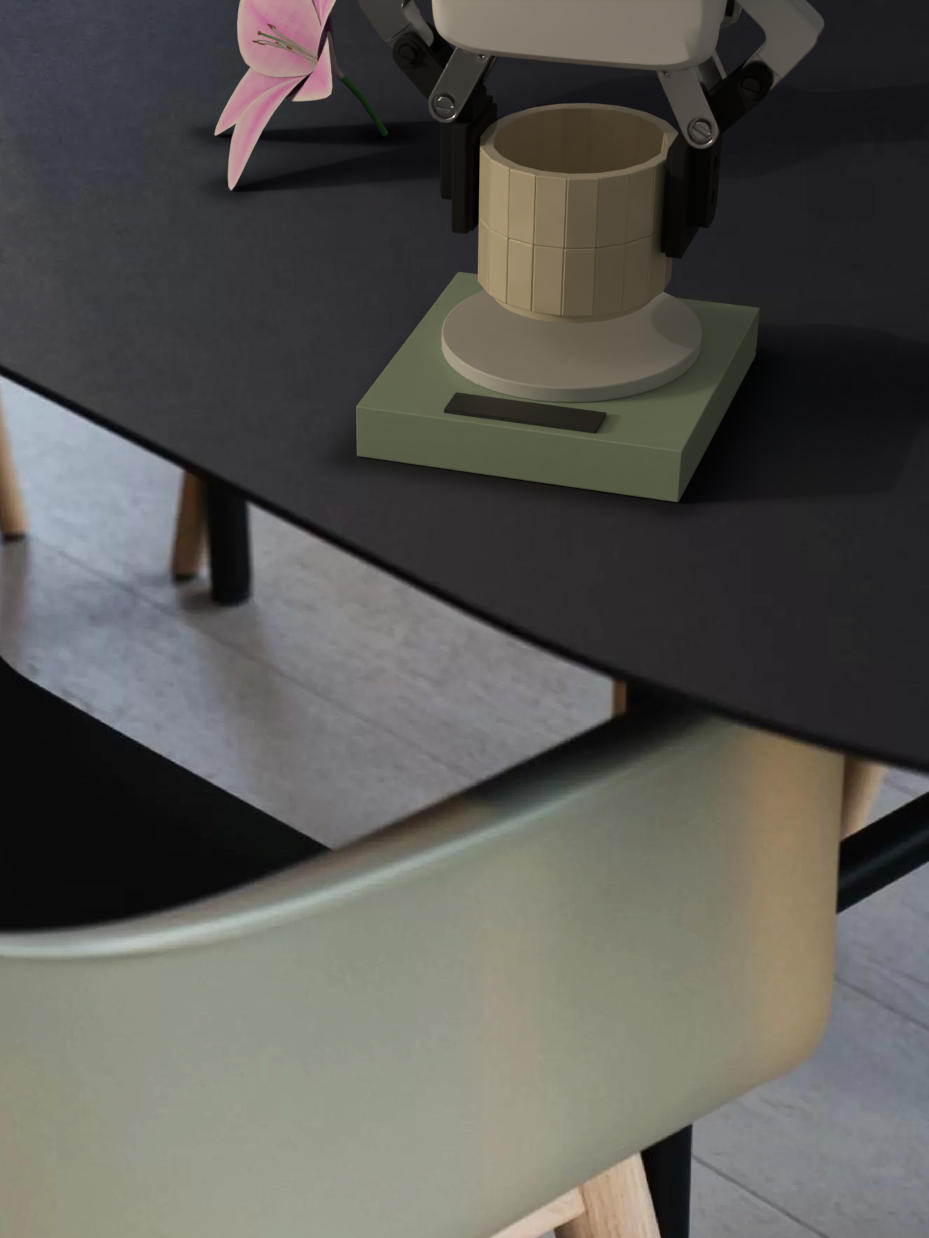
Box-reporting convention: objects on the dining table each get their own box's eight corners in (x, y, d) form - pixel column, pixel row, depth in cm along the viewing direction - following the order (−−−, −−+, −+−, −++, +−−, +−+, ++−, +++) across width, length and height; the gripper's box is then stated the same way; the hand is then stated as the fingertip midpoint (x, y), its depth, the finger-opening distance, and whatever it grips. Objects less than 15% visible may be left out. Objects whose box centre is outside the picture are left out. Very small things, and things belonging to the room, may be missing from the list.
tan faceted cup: (690, 259, 94) (701, 112, 90) (641, 339, 89) (651, 187, 85) (509, 239, 96) (513, 94, 92) (452, 315, 91) (454, 166, 88)
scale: (755, 356, 97) (761, 291, 95) (678, 503, 89) (683, 435, 87) (457, 318, 101) (458, 256, 99) (356, 456, 92) (355, 390, 91)
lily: (267, 104, 122) (165, -58, 115) (487, 21, 116) (393, -155, 109) (228, 277, 116) (118, 116, 109) (458, 198, 110) (357, 24, 103)
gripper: (898, -330, 80) (837, 216, 91) (377, -351, 85) (382, 167, 96) (851, -269, 74) (792, 302, 86) (299, -296, 80) (314, 245, 91)
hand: (575, 227), depth 91 cm, fingers closed on tan faceted cup, 7 cm apart
